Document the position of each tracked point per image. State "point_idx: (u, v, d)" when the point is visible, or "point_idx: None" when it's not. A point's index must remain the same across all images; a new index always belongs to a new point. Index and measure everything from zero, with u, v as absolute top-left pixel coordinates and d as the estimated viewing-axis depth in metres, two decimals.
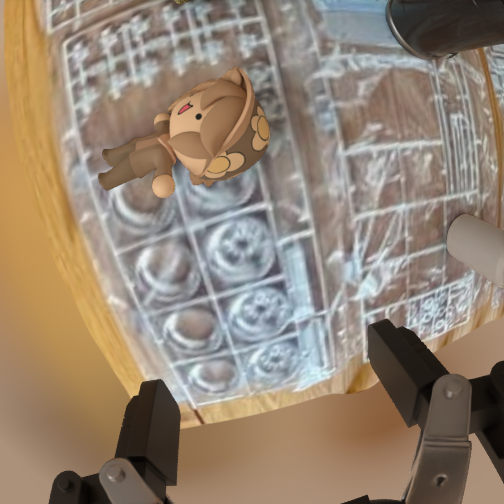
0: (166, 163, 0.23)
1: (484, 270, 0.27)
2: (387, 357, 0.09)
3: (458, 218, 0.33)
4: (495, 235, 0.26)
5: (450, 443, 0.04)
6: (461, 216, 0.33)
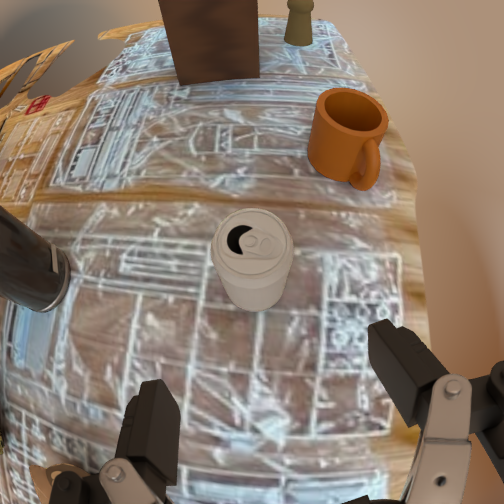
0: None
1: (259, 294, 0.24)
2: (387, 357, 0.09)
3: None
4: None
5: (450, 443, 0.04)
6: None
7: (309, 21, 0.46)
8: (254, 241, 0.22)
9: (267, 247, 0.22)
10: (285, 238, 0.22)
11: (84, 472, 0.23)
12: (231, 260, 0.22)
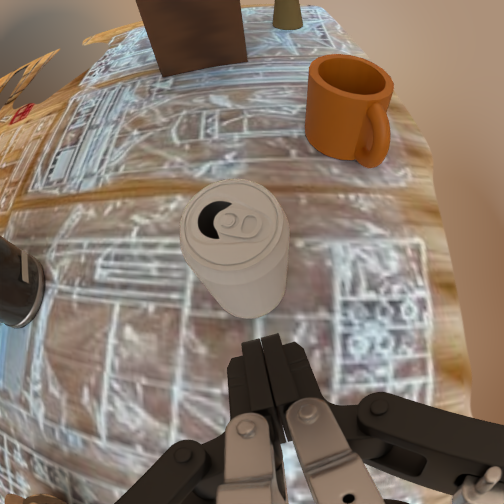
0: None
1: (248, 293, 0.18)
2: None
3: None
4: None
5: (335, 462, 0.05)
6: None
7: (297, 3, 0.41)
8: (234, 220, 0.16)
9: (252, 227, 0.16)
10: (275, 213, 0.16)
11: None
12: (203, 247, 0.16)
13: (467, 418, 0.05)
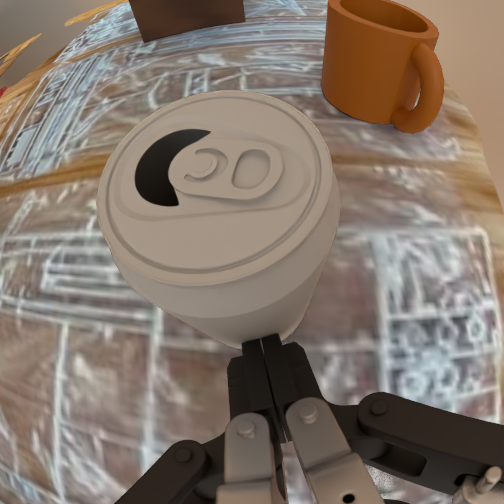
0: None
1: (251, 327, 0.08)
2: None
3: None
4: None
5: (335, 462, 0.05)
6: None
7: None
8: (216, 161, 0.07)
9: (259, 176, 0.06)
10: (311, 147, 0.07)
11: None
12: (140, 227, 0.06)
13: (467, 417, 0.05)
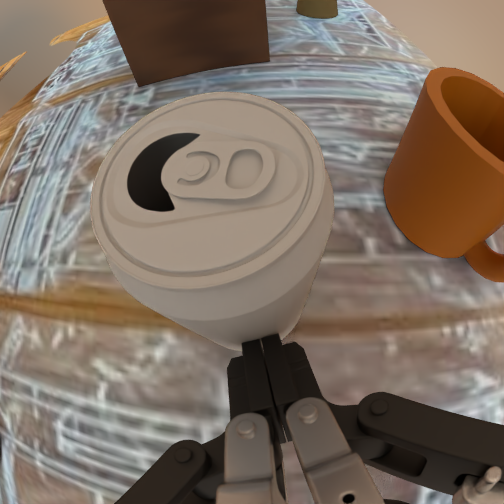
0: None
1: (254, 326, 0.08)
2: None
3: None
4: None
5: (335, 462, 0.05)
6: None
7: None
8: (208, 163, 0.07)
9: (253, 175, 0.07)
10: (301, 143, 0.07)
11: None
12: (138, 234, 0.06)
13: (467, 417, 0.05)
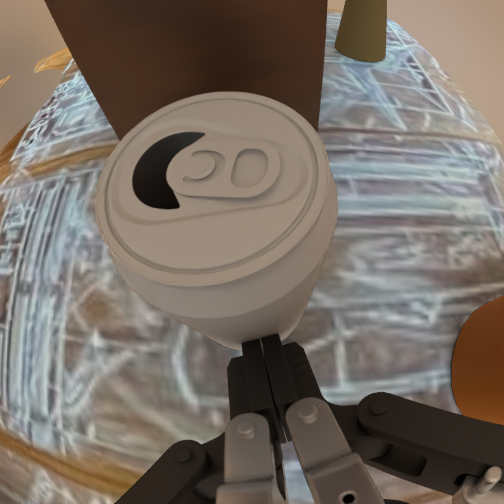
0: None
1: (258, 325, 0.08)
2: None
3: None
4: None
5: (335, 462, 0.05)
6: None
7: (385, 16, 0.21)
8: (213, 162, 0.07)
9: (257, 175, 0.07)
10: (305, 142, 0.07)
11: None
12: (143, 232, 0.06)
13: (467, 418, 0.05)
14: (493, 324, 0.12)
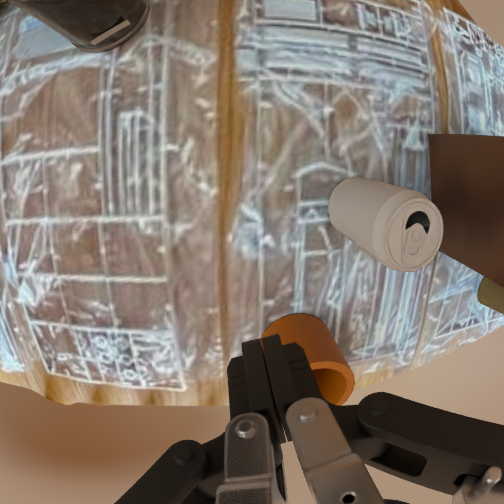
0: None
1: (361, 237, 0.23)
2: None
3: (346, 179, 0.29)
4: (381, 188, 0.22)
5: (334, 462, 0.05)
6: (351, 178, 0.29)
7: (503, 313, 0.33)
8: (416, 238, 0.20)
9: (410, 251, 0.20)
10: (417, 265, 0.21)
11: None
12: (400, 219, 0.19)
13: (467, 418, 0.05)
14: (327, 335, 0.31)
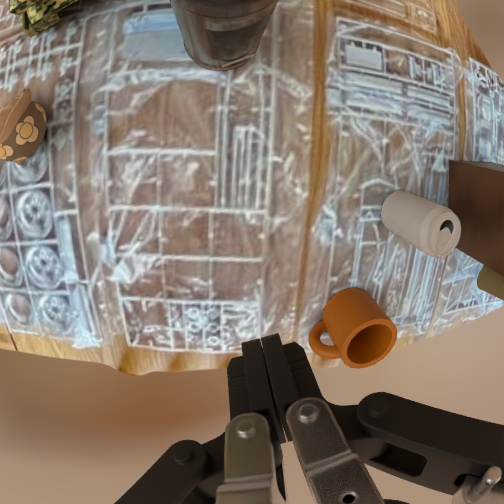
0: None
1: (410, 234, 0.33)
2: None
3: (394, 192, 0.39)
4: (424, 203, 0.32)
5: (335, 462, 0.05)
6: (398, 191, 0.39)
7: (497, 296, 0.44)
8: (445, 236, 0.30)
9: (441, 244, 0.31)
10: (444, 253, 0.31)
11: (43, 134, 0.29)
12: (437, 224, 0.30)
13: (467, 418, 0.05)
14: (375, 303, 0.42)
